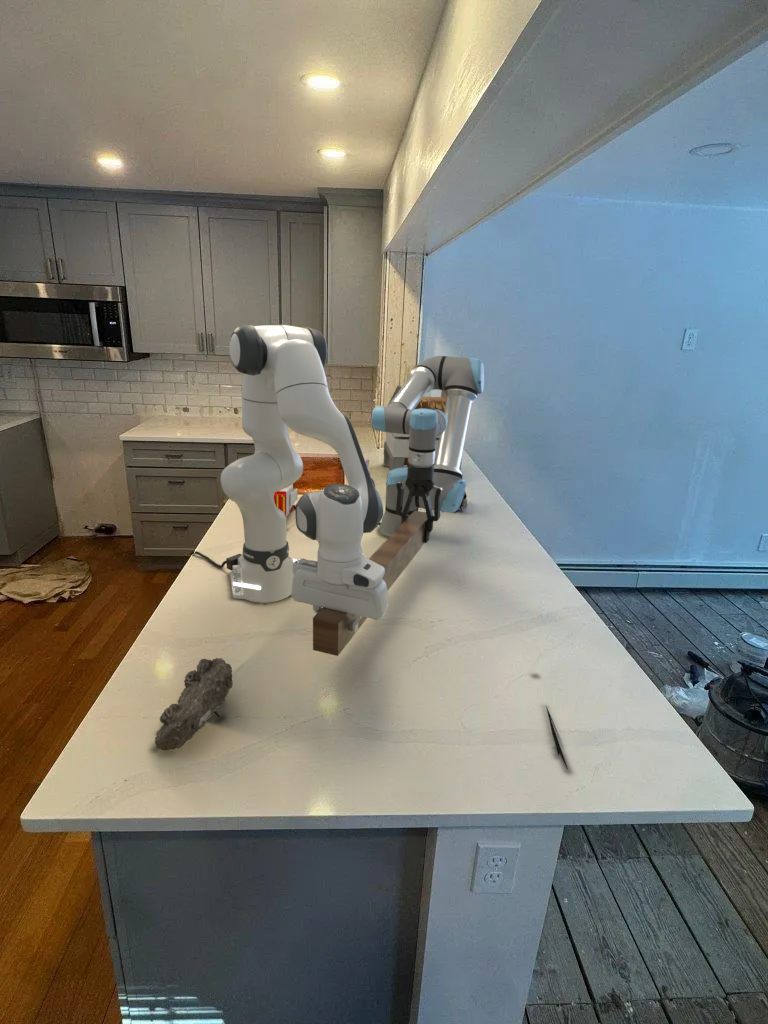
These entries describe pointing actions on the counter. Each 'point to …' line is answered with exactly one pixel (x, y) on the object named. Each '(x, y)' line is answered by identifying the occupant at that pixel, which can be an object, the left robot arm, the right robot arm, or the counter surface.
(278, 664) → the counter surface
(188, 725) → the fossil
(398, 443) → the white storage bin
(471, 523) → the counter surface
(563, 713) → the counter surface
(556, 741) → the feather
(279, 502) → the toy
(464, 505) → the figurine character
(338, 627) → the bar
